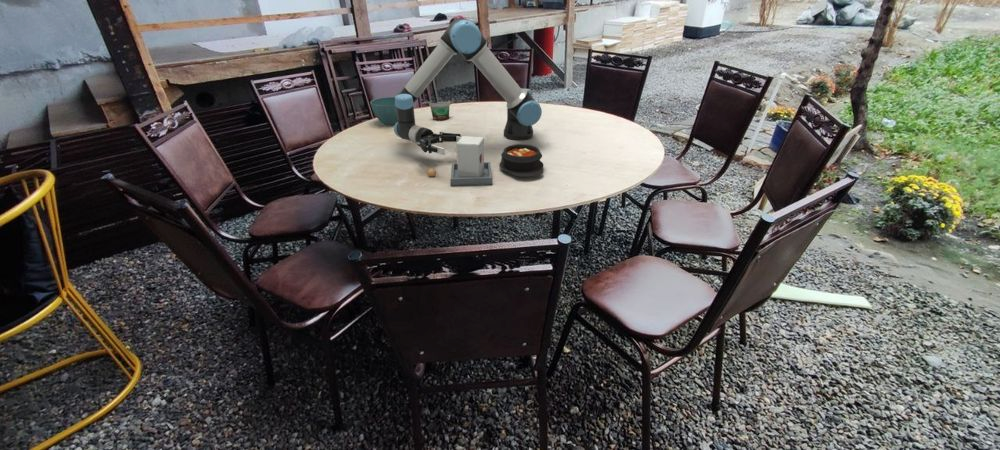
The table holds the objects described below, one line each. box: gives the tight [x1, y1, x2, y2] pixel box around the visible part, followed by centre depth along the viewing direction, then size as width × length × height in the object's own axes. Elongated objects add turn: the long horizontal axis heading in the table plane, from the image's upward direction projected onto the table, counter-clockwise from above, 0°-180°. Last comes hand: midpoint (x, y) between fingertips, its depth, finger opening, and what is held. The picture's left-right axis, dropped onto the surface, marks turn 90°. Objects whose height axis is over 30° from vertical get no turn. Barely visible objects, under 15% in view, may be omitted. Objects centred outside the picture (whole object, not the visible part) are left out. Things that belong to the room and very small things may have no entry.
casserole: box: [499, 143, 544, 178], centre depth 175 cm, size 25×19×8 cm
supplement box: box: [456, 135, 485, 178], centre depth 166 cm, size 9×9×15 cm
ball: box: [427, 168, 437, 177], centre depth 170 cm, size 3×3×3 cm
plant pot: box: [370, 96, 398, 126], centre depth 228 cm, size 18×18×12 cm
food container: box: [428, 99, 451, 122], centre depth 234 cm, size 12×6×10 cm, turn 117°
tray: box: [450, 161, 493, 187], centre depth 169 cm, size 16×16×3 cm
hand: (456, 147), depth 169 cm, fingers open, 13 cm apart
